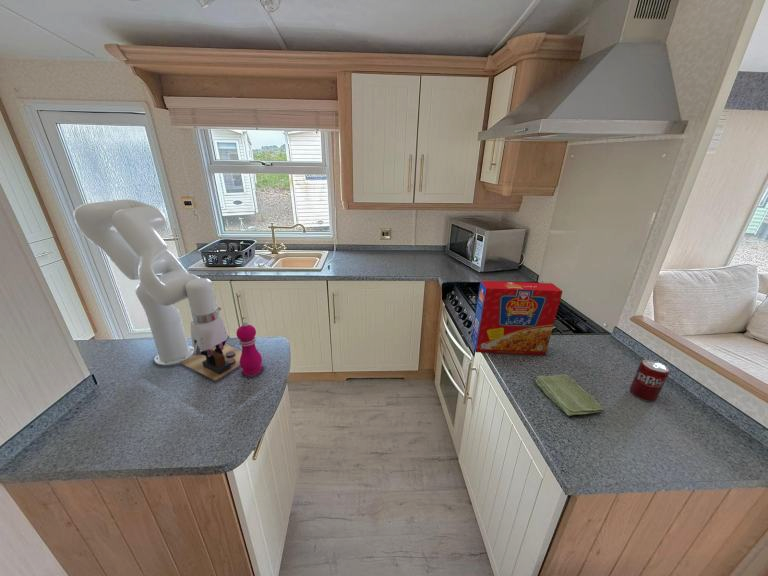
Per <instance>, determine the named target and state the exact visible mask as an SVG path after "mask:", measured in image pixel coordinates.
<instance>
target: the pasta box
mask: <svg viewBox="0 0 768 576" xmlns="http://www.w3.org/2000/svg"><path fill="white" fill-rule="evenodd" d="M562 295H563V290H562V289H560V288H559V287H558V286H556V285H555V284H554V283H553V282H528V281H527V282H526V281H503V280H502V281H499V280H497V281H496V280H480V281H479V288H478V294H477V299H476V300H477V301H476V307H475V312H474V319H473V320H474V321H473V326H472V332H471V339H470V343H471V345H472V347H473V349H474V352H475V353H481V354H507V355H509V354H510V355H534V356H546V355H547V351H548V348H549V343H550V339H551V336H552V333H553V329H554V325H555V322H556V318H557V314H558V310H559V306H560V302H561V299H562Z"/></svg>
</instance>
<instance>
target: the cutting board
mask: <svg viewBox="0 0 768 576" xmlns="http://www.w3.org/2000/svg"><path fill="white" fill-rule="evenodd" d="M223 348H224V349H223V350H222V352H223V355H224V358H225V361H226V360H228V359H230V358H227V357H226V353H227V352H230V351H234V352H235V356H234V357H231V358H234V359H235V361H236V362H235V363H234V364H233V365H231V368H230V369H228V370H226V371H225V372H223V373H221V374H220V375H219V374H218V373H216V372H214V371H212V370H210V369H208V368H206V367H204V366H203V363H202V362H203V361H205V360H206V356H205V355H194V354H193V355H192V356H191V357H189V358H188V359H186V360H184V361H182V362H179V364H182V365H183V366H186V367H188V369H191V370H193V371H195V372H198V373H199V374H201V375H203V376H205V377H207V378H209V379H212V380H214V381H217V380H219V379H220V378H222V377H224V376H225V375H226V374H228V373H231V372H232V371H233V370H234V369H236V368H238V367H239V366H240V357H241V354H242V350H241V349H238V348H235V347H233V346H231V345H228V344H226V343H225V345H224V347H223ZM211 349H212V350H214V351H215V349H216V348H215V346H214V347H212V348H211Z"/></svg>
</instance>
